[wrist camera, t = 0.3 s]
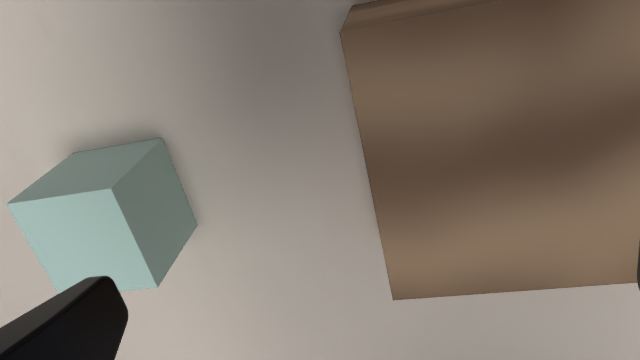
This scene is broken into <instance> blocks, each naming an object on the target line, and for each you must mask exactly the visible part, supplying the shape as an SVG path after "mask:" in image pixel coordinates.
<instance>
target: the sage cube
mask: <svg viewBox="0 0 640 360" xmlns="http://www.w3.org/2000/svg"><path fill="white" fill-rule="evenodd" d="M6 205H7V207H8V209H9V210H10V212H11V214H12V216H13V217H14V219H15V221H16V222H17V224H18V226H19V227H20V229H21V231H22V233H23V234H24V236H25V238H26V239H27V241H28V243H29V244H30V246H31V248H32V250H33V251H34V253H35V255H36V256H37V258H38V260H39V261H40V263H41V265H42V267H43V268H44V270H45V272H46V273H47V275H48V277H49V278H50V280H51V282H52V283H53V285H54V287H55V289H56V290H57V292H58V294H59V293H61V292H63V291H65V290H66V289H68V288H70V287H71V286H73V285H75V284H77V283H78V282H80V281H82V280H83V279H85V278H88V277H94V276H109V277H110V278H112V279H113V281H114V282H115V284H116V286H117V288H118V290H119V291H127V290H137V289H148V288H158V286H159V285H160V283H161V281H162V280H163V278H164V277H165V275H166V274H167V272H168V270H169V269H170V267H171V266H172V264H173V263H174V261H175V259H176V258H177V256H178V255H179V253H180V251H181V250H182V248H183V247H184V245H185V244H186V242H187V240H188V239H189V237H190V236H191V234H192V233H193V231H194V229H195V228H196V226H197V223H196V221H195V218H194V216H193V213H192V211H191V208H190V206H189V203H188V201H187V198H186V196H185V193H184V191H183V188H182V186H181V183H180V181H179V178H178V176H177V173H176V171H175V168H174V166H173V163H172V161H171V158H170V156H169V153H168V151H167V148H166V146H165V143H164V141H163V138H158V139H153V140H147V141H141V142H135V143H129V144H123V145H118V146H112V147H106V148H100V149H94V150H89V151H83V152H77V153H73V154H71V155H70V156H69V157H67V158H66V159H65V160H63V161H62V162H61V163H59V164H58V165H57V166H55V167H54V168H53V169H52V170H50V171H49V172H48V173H46V174H45V175H44V176H42V177H41V178H40V179H38V180H37V181H36V182H34V183H33V184H32V185H31V186H29V187H28V188H27V189H25V190H24V191H23V192H21V193H20V194H19V195H17V196H16V197H15V198H13V199H12V200H11V201H9V202H8V203H7V204H6Z"/></svg>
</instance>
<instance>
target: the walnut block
mask: <svg viewBox="0 0 640 360" xmlns="http://www.w3.org/2000/svg"><path fill="white" fill-rule="evenodd" d="M340 37H341V42H342V47H343V52H344V57H345V62H346V67H347V72H348V77H349V82H350V87H351V92H352V97H353V102H354V107H355V112H356V117H357V122H358V127H359V132H360V137H361V142H362V147H363V152H364V157H365V162H366V167H367V172H368V177H369V182H370V187H371V192H372V197H373V202H374V207H375V212H376V217H377V223H378V228H379V233H380V238H381V243H382V248H383V253H384V258H385V263H386V268H387V273H388V278H389V283H390V288H391V293H392V298H393V300H403V299H416V298H430V297H444V296H458V295H472V294H485V293H499V292H513V291H527V290H541V289H554V288H568V287H582V286H596V285H609V284H623V283H637V265H638V253H639V241H640V0H378V1H373V2H368V3H364V4H359V5H354V6H352V7H351V9H350V12H349V14H348V16H347V18H346V20H345V22H344V24H343V26H342V28H341V30H340Z"/></svg>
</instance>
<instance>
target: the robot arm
mask: <svg viewBox="0 0 640 360" xmlns="http://www.w3.org/2000/svg"><path fill="white" fill-rule="evenodd" d="M637 282H638V287H639V290H640V241H639V253H638V265H637ZM127 321H128V310H127V307H126V305H125V303H124V301H123V299H122V297H121V294H120V292H119V290H118V288H117V286H116V284H115V282H114V281H113V279H112V278H110V277H109V276H94V277H88V278H85V279H83V280H82V281H80V282H78V283H77V284H75V285H73V286H71V287H70V288H68V289H66V290H65V291H63V292H61V293H59V294H58V295H56V296H54V297H53V298H51V299H49V300H47V301H46V302H44V303H42V304H41V305H39V306H37V307H35V308H34V309H32V310H30V311H29V312H27V313H25V314H23V315H22V316H20V317H18V318H17V319H15V320H13V321H11V322H10V323H8V324H6V325H5V326H3V327H1V328H0V360H114V359H115V356H116V354H117V351H118V348H119V345H120V342H121V339H122V336H123V333H124V330H125V328H126V325H127Z"/></svg>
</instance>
